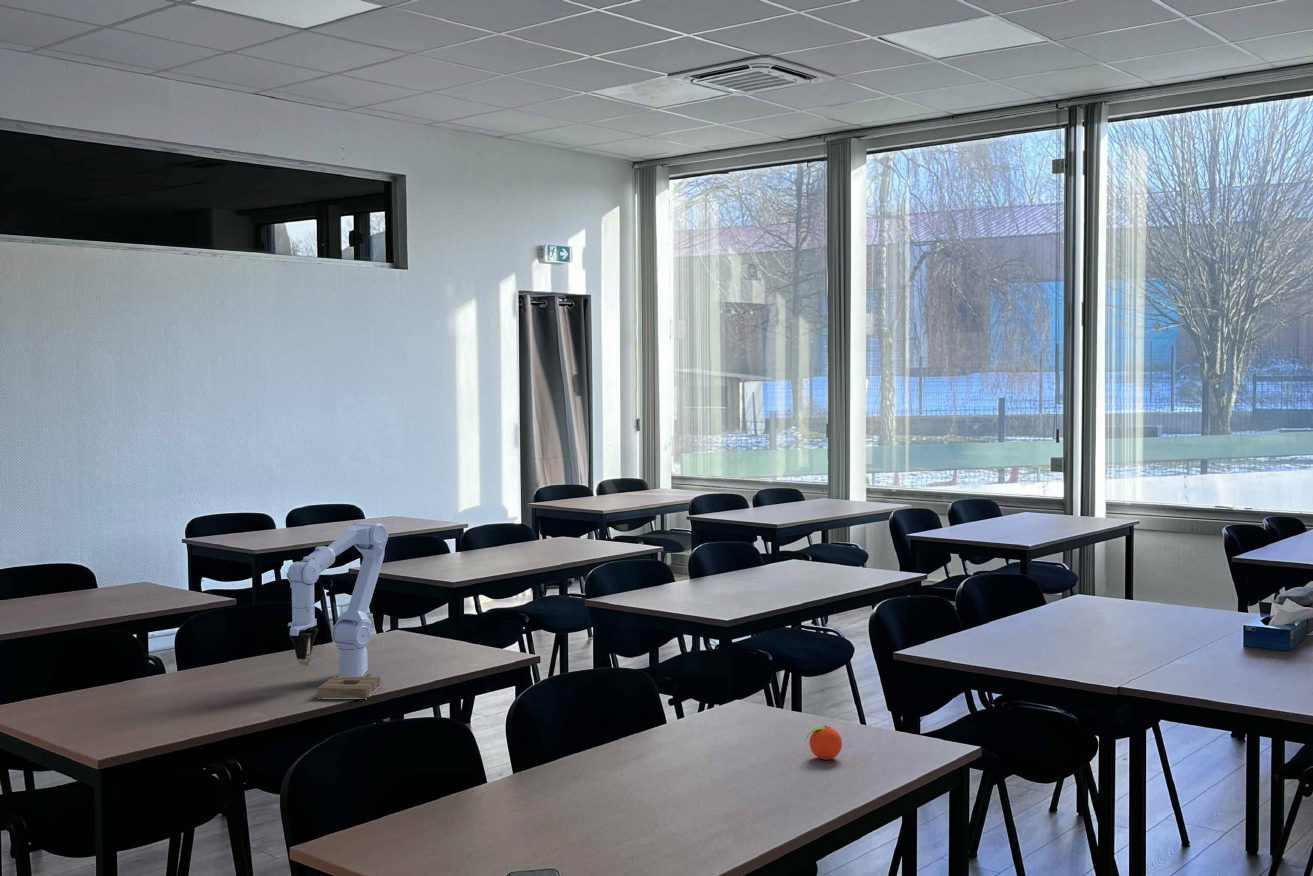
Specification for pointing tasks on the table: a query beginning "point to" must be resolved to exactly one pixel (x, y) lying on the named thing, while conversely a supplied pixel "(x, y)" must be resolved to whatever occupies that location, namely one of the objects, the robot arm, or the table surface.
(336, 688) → the board
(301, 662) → the peg
